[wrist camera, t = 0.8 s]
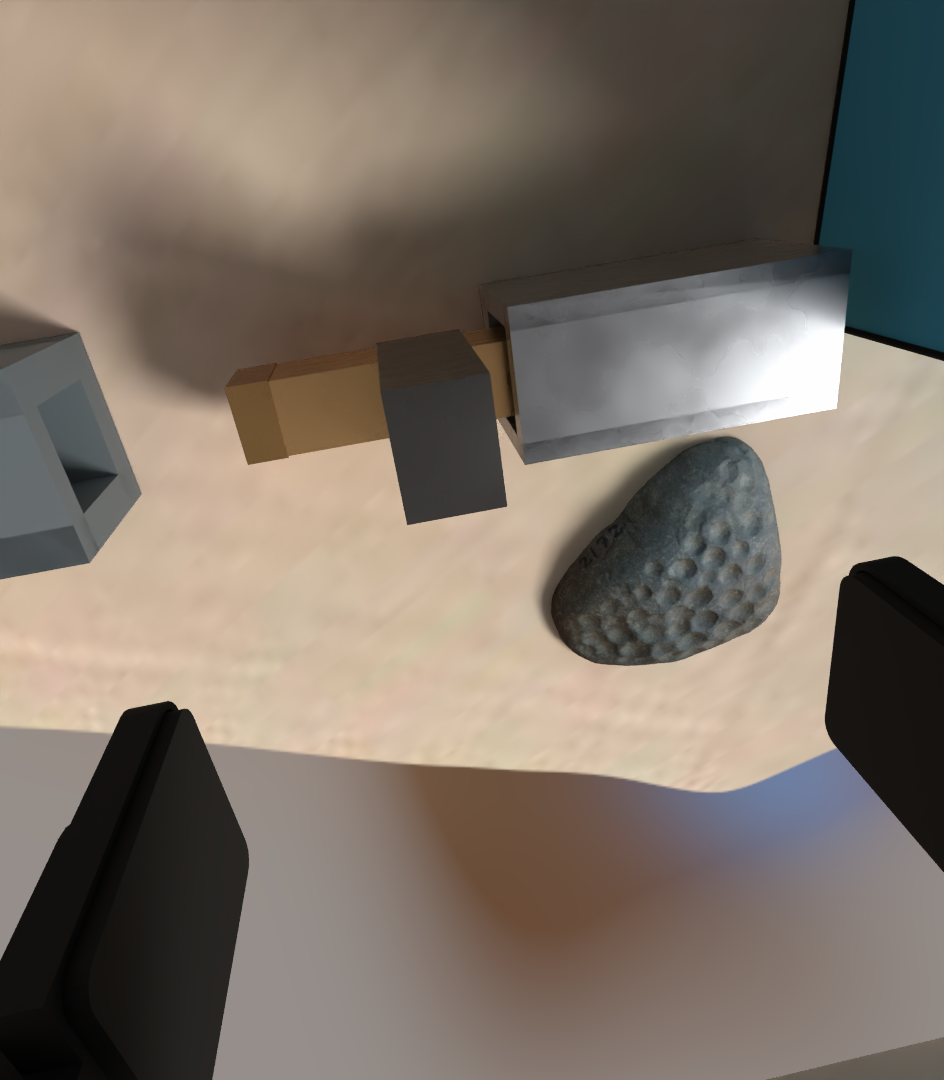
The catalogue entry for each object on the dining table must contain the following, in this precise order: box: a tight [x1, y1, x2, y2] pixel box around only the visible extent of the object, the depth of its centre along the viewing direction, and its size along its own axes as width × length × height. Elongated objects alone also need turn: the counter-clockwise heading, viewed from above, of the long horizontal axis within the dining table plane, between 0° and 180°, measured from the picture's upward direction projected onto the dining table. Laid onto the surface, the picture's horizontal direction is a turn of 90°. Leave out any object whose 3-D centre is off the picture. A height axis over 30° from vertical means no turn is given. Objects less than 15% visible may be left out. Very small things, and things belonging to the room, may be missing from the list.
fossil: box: [551, 437, 781, 666], centre depth 35 cm, size 10×13×4 cm
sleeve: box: [479, 239, 853, 465], centre depth 28 cm, size 6×12×6 cm, turn 98°
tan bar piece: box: [225, 326, 515, 525], centre depth 24 cm, size 4×22×9 cm, turn 98°
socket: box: [0, 333, 141, 579], centre depth 26 cm, size 7×6×6 cm
